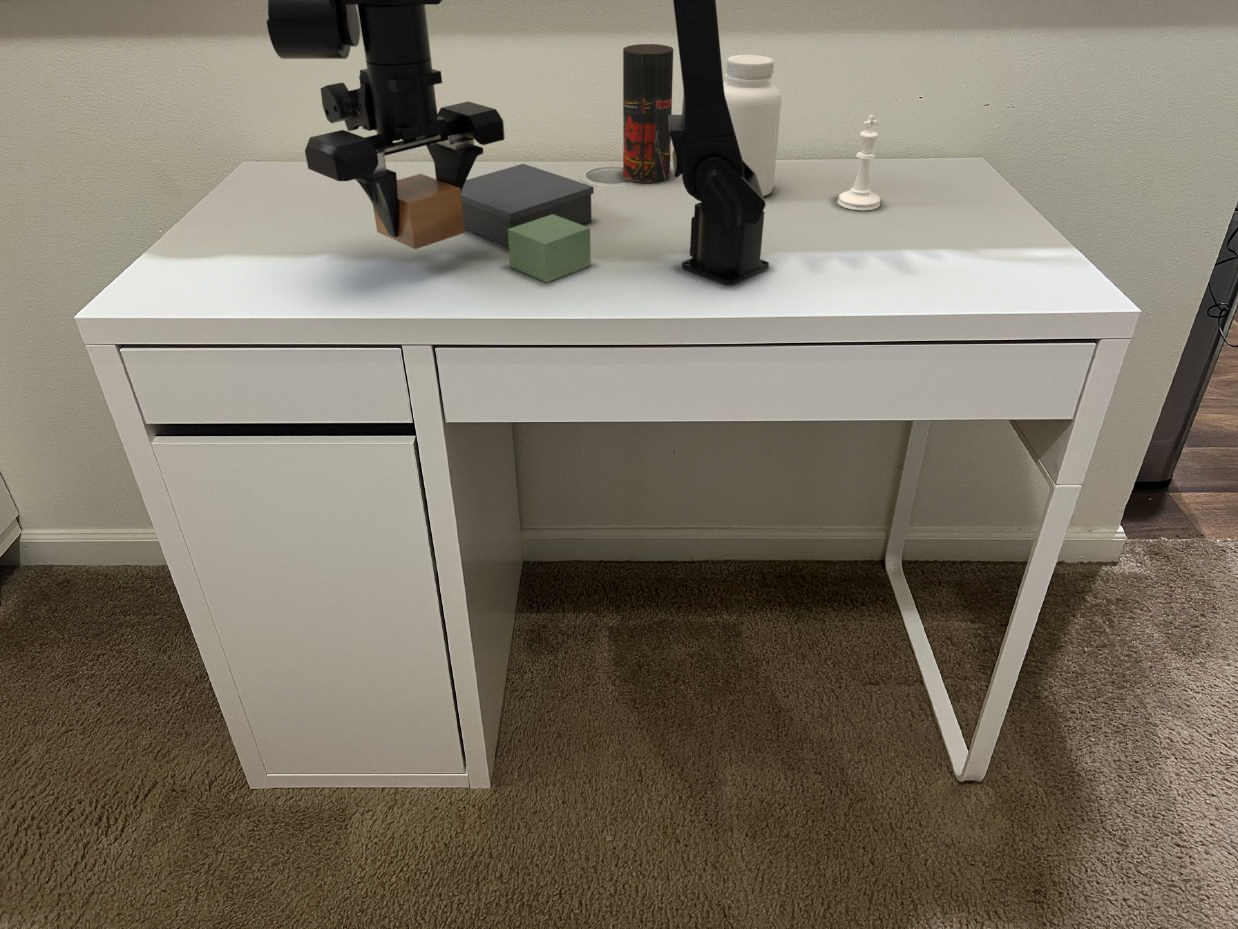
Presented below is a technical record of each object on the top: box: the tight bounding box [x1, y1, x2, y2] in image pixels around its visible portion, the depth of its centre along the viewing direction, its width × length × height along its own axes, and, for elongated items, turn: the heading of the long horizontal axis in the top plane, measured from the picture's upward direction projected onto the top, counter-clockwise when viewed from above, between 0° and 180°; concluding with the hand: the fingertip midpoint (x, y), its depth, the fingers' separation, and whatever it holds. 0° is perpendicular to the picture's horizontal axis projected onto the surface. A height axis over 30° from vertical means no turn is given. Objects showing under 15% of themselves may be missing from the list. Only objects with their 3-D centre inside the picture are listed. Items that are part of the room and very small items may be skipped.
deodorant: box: [622, 43, 674, 184], centre depth 113 cm, size 6×6×15 cm
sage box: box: [508, 214, 592, 284], centre depth 92 cm, size 6×6×4 cm
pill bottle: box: [723, 54, 782, 197], centre depth 108 cm, size 8×8×15 cm
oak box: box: [372, 173, 466, 250], centre depth 90 cm, size 6×6×4 cm
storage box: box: [461, 163, 595, 249], centre depth 103 cm, size 12×12×4 cm
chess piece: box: [837, 114, 881, 211], centre depth 106 cm, size 5×5×10 cm
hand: (420, 227), depth 91 cm, fingers closed on oak box, 6 cm apart
